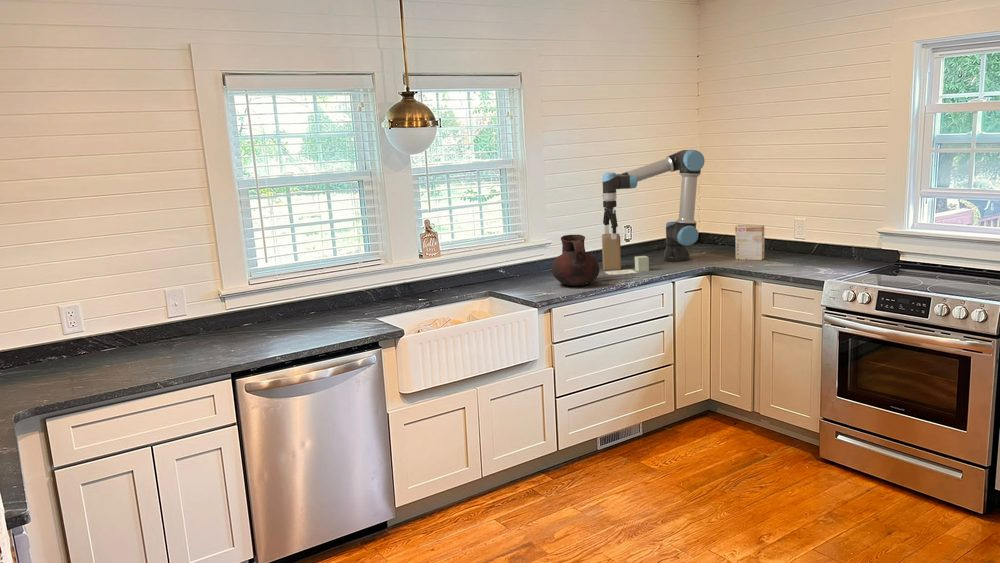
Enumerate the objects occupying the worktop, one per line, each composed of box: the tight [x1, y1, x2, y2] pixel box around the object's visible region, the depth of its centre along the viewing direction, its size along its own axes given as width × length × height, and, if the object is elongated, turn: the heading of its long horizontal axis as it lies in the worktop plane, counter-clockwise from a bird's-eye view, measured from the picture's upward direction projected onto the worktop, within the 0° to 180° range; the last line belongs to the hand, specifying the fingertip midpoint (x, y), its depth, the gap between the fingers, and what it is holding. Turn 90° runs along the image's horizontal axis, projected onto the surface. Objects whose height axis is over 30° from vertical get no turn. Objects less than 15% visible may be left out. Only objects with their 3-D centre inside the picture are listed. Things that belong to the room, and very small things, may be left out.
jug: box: [551, 234, 600, 287], centre depth 385 cm, size 25×25×25 cm
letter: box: [604, 269, 639, 276], centre depth 412 cm, size 16×11×1 cm
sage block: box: [634, 255, 650, 273], centre depth 413 cm, size 6×6×8 cm
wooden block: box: [601, 232, 622, 271], centre depth 422 cm, size 10×10×20 cm
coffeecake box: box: [734, 224, 765, 261], centre depth 428 cm, size 15×7×20 cm, turn 59°
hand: (610, 237), depth 421 cm, fingers open, 13 cm apart
